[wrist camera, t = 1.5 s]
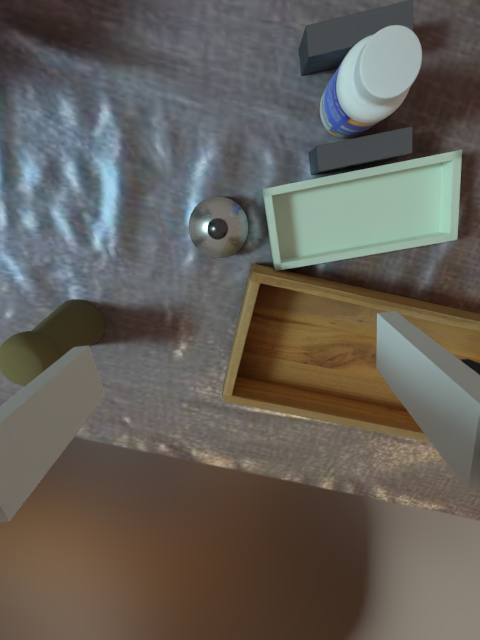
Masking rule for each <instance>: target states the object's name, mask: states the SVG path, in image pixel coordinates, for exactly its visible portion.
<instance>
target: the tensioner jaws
mask: <svg viewBox="0 0 480 640" xmlns="http://www.w3.org/2000/svg"><path fill="white" fill-rule="evenodd" d="M392 25H401V26H405V27H407V28H409V29H410V30H412V31H413V0H409V1H405V2H401V3H397V4H393V5H389V6H385V7H380V8H376V9H372V10H368V11H364V12H360V13H356V14H352V15H348V16H344V17H340V18H336V19H331V20H327V21H323V22H319V23H315V24H311V25H307V26H306V28H305V31H304V34H303V37H302V41H301V44H300V47H299V56H300V66H301V76H302V75H307V74H311V73H315V72H320V71H324V70H328V69H333V68H337V67H339V66H340V64H341V63H342V61H343V60H344V58H345V57H346V55H347V54H348V52H349V51H350V50H351V49H352V48H353V47H354V45H356V44H357V43H358V42H359V41H361V40H362V39H364V38H366V37H368V36H370V35H373V34H375V33H377V32H378V31H379V30H381V29H383V28H385V27H388V26H392ZM412 129H413V126H412V127H407V128H402V129H397V130H393V131H388V132H383V133H378V134H373V135H368V136H364V137H359V138H354V139H349V140H344V141H340V142H335V143H330V144H325V145H320V146H316V147H315V148H314V149H313V150H312V151H311V152H309V160H310V170H311V175H313V174H318V173H323V172H328V171H333V170H338V169H343V168H348V167H353V166H358V165H363V164H368V163H373V162H378V161H383V160H388V159H393V158H396V157H400V156H403V155H406V154H410V153H412Z"/></svg>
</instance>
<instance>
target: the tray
mask: <svg viewBox="0 0 480 640" xmlns="http://www.w3.org/2000/svg"><path fill="white" fill-rule="evenodd" d="M390 311H396V312H397V313H399V314H400V315H401V316H403V317H404V318H405V319H407V320H408V321H409V322H410V323H412V324H413V325H414V326H416V327H417V328H418V329H420V330H421V331H422V332H424V333H425V334H426V335H428V336H429V337H430V338H432V339H433V340H434V341H436V342H437V343H438V344H439V345H441V346H442V347H443V348H445V349H446V350H447V351H449V352H450V353H451V354H453V355H454V356H455V357H457V358H458V359H459V360H461V359H470V360H473V361H475V362H478V363H480V314H479V313H474V312H470V311H465V310H461V309H456V308H452V307H447V306H443V305H438V304H434V303H429V302H425V301H420V300H416V299H412V298H407V297H403V296H398V295H394V294H389V293H384V292H380V291H375V290H371V289H366V288H362V287H357V286H353V285H348V284H343V283H339V282H334V281H330V280H325V279H321V278H316V277H312V276H307V275H303V274H298V273H294V272H289V271H285V270H279V271H275V269H274V268H272V267H267V266H262V265H258V264H251V268H250V272H249V276H248V280H247V285H246V289H245V293H244V297H243V302H242V306H241V310H240V314H239V319H238V323H237V328H236V332H235V336H234V341H233V345H232V349H231V354H230V358H229V363H228V367H227V371H226V376H225V380H224V386H223V394H222V401H226V402H230V403H235V404H240V405H245V406H250V407H256V408H261V409H266V410H271V411H276V412H281V413H286V414H291V415H296V416H301V417H306V418H311V419H317V420H321V421H326V422H331V423H336V424H342V425H347V426H352V427H357V428H362V429H367V430H371V431H376V432H381V433H386V434H391V435H396V436H401V437H406V438H411V439H416V440H421V441H426V442H430V440H429V439H428V438H427V436H426V435H425V434H424V432H423V431H422V430H421V428H420V427H419V426H418V424H417V423H416V422H415V420H414V419H413V417H412V416H411V415H410V413H409V412H408V411H407V409H406V408H405V407H404V405H403V404H402V403H401V401H400V400H399V399H398V397H397V396H396V395H395V393H394V392H393V391H392V389H391V388H390V387H389V385H388V384H387V383H386V381H385V380H384V379H383V377H382V376H381V374H380V373H379V372H378V370H377V369H376V354H377V313H381V312H390Z"/></svg>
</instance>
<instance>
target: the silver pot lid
mask: <svg viewBox="0 0 480 640" xmlns="http://www.w3.org/2000/svg"><path fill="white" fill-rule="evenodd" d="M189 233H190V237H191V239H192V242H193V243H194V245H195V246H196V247H197V249H198V250H199V251H201V252H202V253H203V254H205V255H207V256H209V257H213V258H225V257H229V256H231V255H233V254H235V253H236V252H238V251H239V250H240V249H241V247H242V246H243V244H244V243H245V241H246V238H247V234H248V220H247V217H246V214H245V212H244V210H243V209H242V208H241V206H240V205H239V204H237V203H236V202H235V201H233V200H231V199H229V198H226V197H211V198H207V199H205V200H203V201H202V202H200V203H199V204H198V205H197V206H196V207H195V209H194V210H193V212H192V214H191V217H190V220H189Z"/></svg>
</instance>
